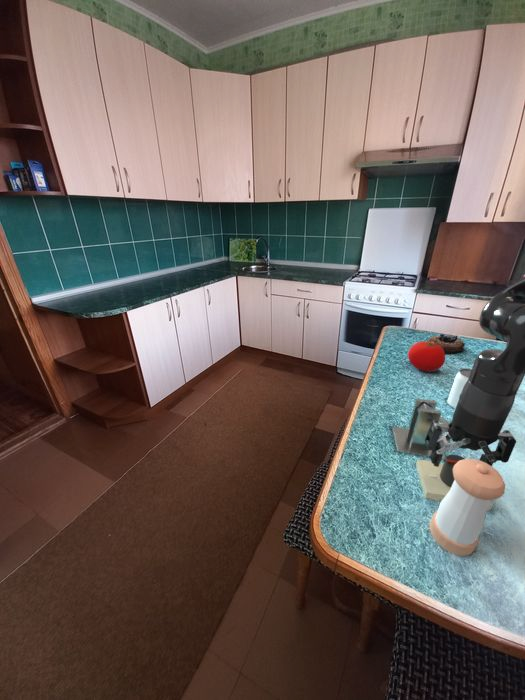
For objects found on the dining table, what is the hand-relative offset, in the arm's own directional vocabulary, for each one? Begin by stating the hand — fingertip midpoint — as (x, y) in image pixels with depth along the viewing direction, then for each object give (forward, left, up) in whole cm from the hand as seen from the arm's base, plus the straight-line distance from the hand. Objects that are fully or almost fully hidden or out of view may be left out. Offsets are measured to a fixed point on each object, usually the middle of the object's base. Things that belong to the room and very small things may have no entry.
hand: (457, 467), depth 61 cm
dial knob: (0, 0, -4) cm, 4 cm away
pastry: (-20, -76, -7) cm, 79 cm away
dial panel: (0, 0, -7) cm, 7 cm away
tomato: (-7, -56, -7) cm, 57 cm away
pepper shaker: (+3, +11, -7) cm, 14 cm away
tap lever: (0, -13, 0) cm, 13 cm away
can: (-12, -33, -7) cm, 36 cm away
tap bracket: (+4, -13, -7) cm, 15 cm away
